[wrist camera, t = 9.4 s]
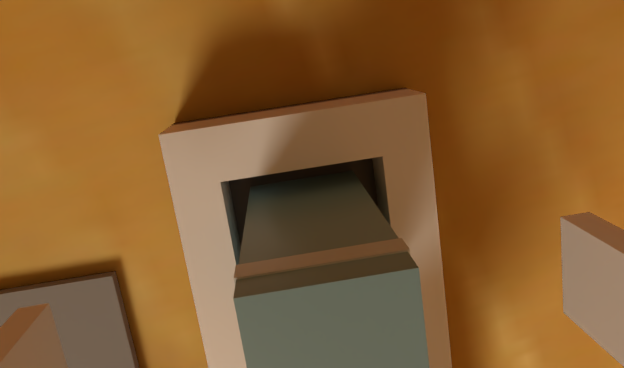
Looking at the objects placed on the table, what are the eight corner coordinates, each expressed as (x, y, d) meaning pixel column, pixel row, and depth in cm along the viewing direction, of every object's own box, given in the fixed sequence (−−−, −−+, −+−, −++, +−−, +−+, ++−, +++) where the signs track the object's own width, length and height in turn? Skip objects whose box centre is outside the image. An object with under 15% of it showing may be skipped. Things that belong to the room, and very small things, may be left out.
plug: (248, 185, 21) (230, 296, 12) (353, 169, 22) (421, 265, 12) (266, 283, 22) (262, 460, 13) (366, 266, 23) (438, 429, 13)
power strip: (174, 123, 21) (155, 136, 18) (404, 87, 22) (430, 94, 18) (257, 527, 26) (255, 599, 22) (447, 493, 26) (473, 559, 23)
